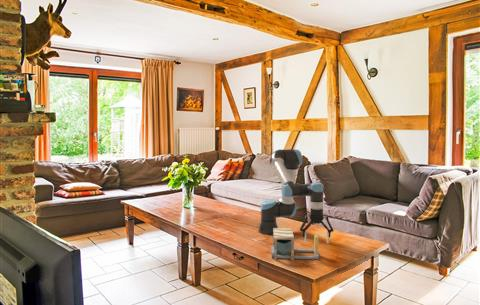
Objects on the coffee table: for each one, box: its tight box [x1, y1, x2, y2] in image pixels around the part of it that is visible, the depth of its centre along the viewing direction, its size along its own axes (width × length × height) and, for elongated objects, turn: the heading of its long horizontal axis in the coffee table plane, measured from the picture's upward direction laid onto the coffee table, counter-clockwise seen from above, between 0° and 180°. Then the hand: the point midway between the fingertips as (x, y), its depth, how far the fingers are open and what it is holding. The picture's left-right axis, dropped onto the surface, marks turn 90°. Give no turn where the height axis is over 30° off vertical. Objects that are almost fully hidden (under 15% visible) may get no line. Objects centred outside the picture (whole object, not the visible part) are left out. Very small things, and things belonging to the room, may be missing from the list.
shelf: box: [272, 227, 295, 261], centre depth 224 cm, size 19×12×14 cm, turn 176°
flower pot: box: [277, 239, 291, 256], centre depth 223 cm, size 9×9×9 cm
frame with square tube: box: [271, 234, 320, 260], centre depth 223 cm, size 14×28×12 cm, turn 86°
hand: (316, 242), depth 221 cm, fingers open, 13 cm apart
